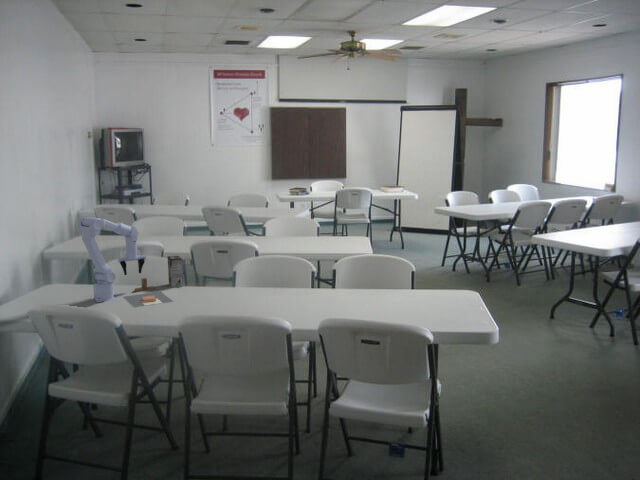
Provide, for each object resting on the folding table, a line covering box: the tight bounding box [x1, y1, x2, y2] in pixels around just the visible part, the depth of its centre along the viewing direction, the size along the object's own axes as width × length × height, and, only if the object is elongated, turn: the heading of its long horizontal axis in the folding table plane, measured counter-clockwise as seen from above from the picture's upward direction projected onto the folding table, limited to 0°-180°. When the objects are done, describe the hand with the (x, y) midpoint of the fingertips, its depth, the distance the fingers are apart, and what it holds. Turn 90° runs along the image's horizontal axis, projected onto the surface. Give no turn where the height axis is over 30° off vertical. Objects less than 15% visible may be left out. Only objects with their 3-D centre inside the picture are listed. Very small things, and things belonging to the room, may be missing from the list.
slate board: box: [122, 291, 174, 308], centre depth 316 cm, size 20×22×1 cm
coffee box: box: [167, 255, 184, 288], centre depth 344 cm, size 9×6×16 cm
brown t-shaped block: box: [134, 277, 155, 293], centre depth 334 cm, size 10×2×7 cm, turn 124°
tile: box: [142, 296, 156, 303], centre depth 314 cm, size 6×6×2 cm
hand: (132, 273), depth 330 cm, fingers open, 7 cm apart
